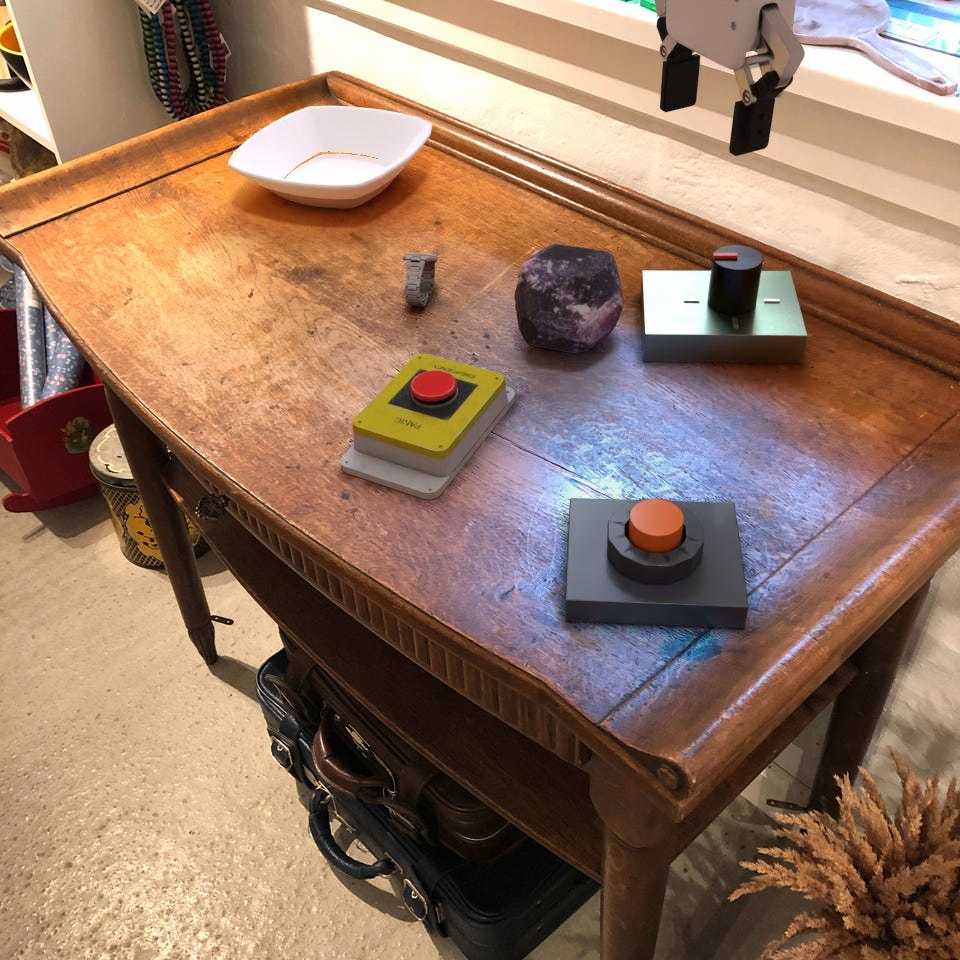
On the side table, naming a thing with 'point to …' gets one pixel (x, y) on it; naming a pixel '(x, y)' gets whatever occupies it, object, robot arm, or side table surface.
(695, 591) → the button block
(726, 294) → the knob
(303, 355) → the side table surface
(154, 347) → the side table surface
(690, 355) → the panel
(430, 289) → the wristwatch
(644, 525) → the button
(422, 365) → the emergency button
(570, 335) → the mineral specimen
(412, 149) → the bowl
